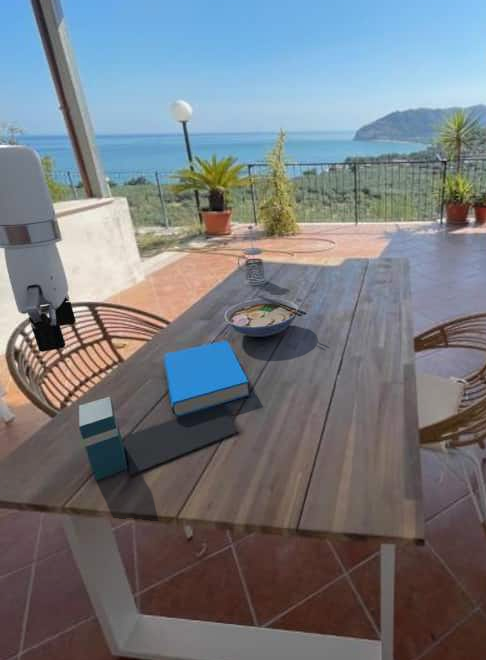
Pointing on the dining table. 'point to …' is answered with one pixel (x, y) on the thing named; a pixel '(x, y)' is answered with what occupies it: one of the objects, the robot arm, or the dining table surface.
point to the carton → (102, 437)
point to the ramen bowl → (262, 316)
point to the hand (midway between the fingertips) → (59, 336)
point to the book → (204, 377)
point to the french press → (253, 261)
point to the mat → (177, 437)
